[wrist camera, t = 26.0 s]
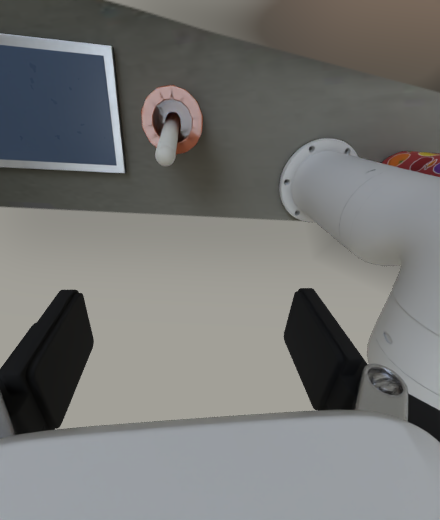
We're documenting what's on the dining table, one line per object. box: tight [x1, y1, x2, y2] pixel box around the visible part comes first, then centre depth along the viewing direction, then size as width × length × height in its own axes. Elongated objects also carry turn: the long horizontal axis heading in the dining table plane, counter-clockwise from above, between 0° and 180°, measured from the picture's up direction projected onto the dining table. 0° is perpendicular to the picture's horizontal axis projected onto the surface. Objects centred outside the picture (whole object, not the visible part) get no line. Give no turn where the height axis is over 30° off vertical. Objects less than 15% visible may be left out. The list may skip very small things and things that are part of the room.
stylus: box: [155, 112, 180, 166], centre depth 28 cm, size 2×2×14 cm
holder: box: [141, 85, 203, 154], centre depth 31 cm, size 7×7×7 cm
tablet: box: [0, 33, 126, 173], centre depth 31 cm, size 20×14×1 cm
